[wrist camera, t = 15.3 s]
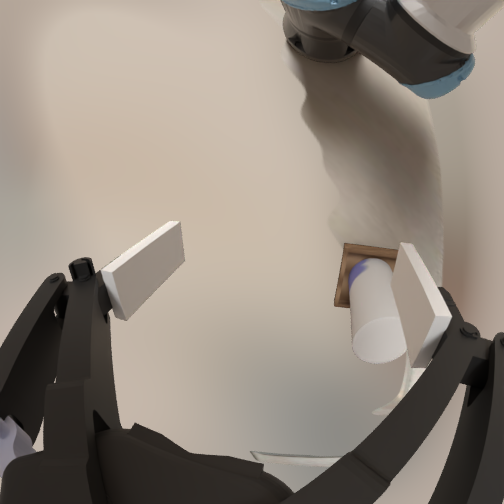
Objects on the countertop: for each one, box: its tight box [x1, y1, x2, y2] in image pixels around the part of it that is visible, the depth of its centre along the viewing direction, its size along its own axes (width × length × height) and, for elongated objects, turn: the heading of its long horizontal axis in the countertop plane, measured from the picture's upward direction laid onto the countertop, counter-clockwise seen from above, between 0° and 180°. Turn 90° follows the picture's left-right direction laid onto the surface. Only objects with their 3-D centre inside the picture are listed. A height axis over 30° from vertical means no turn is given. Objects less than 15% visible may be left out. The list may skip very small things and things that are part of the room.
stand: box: [334, 243, 398, 308], centre depth 54 cm, size 14×14×2 cm
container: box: [348, 258, 407, 364], centre depth 46 cm, size 10×10×20 cm
